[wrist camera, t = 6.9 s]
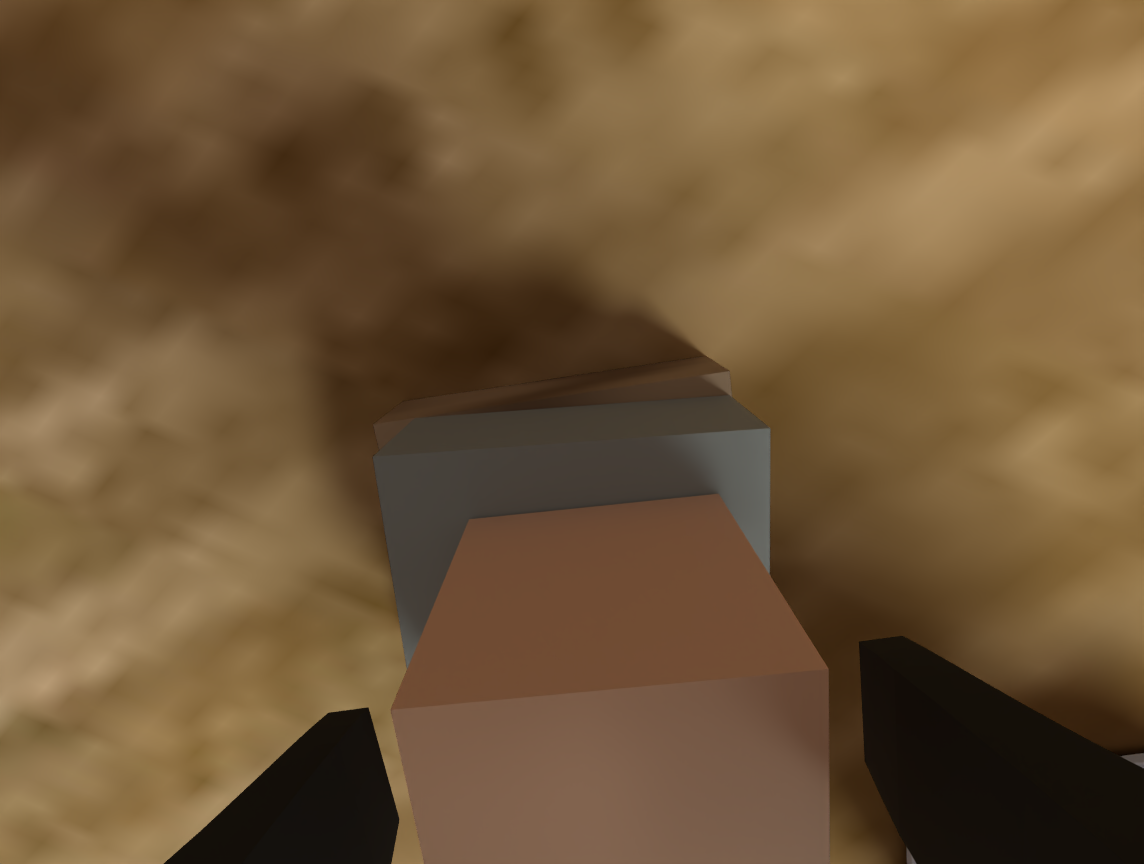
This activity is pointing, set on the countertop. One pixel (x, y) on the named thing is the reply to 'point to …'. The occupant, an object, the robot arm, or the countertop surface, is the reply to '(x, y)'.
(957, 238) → the countertop surface
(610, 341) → the countertop surface
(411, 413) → the base slab
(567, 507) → the top slab
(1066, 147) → the countertop surface
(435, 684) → the terracotta block
